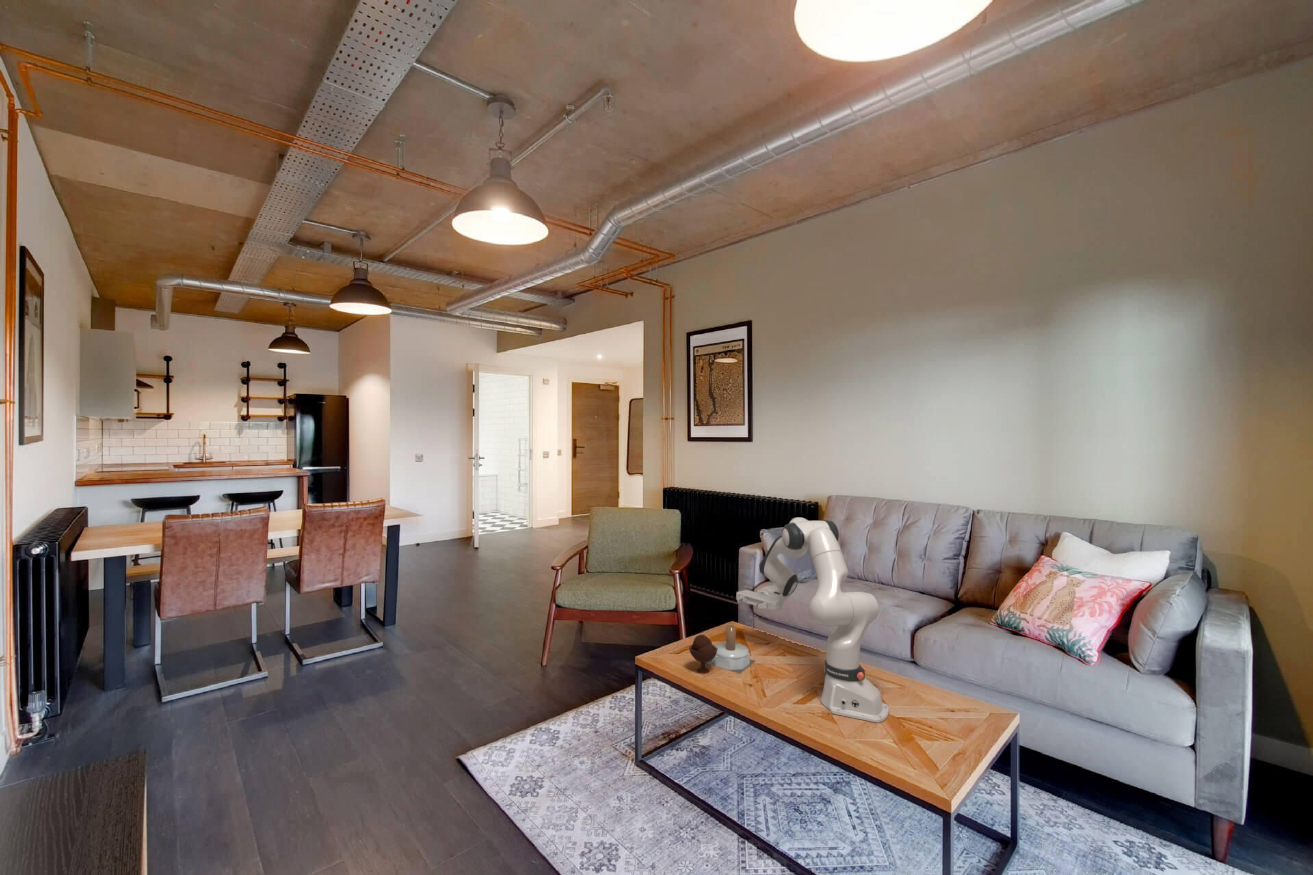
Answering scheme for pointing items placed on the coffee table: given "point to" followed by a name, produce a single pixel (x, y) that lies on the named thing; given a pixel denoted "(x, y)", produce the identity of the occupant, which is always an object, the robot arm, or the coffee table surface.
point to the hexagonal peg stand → (731, 652)
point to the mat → (732, 670)
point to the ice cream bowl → (703, 652)
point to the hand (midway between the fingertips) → (748, 603)
